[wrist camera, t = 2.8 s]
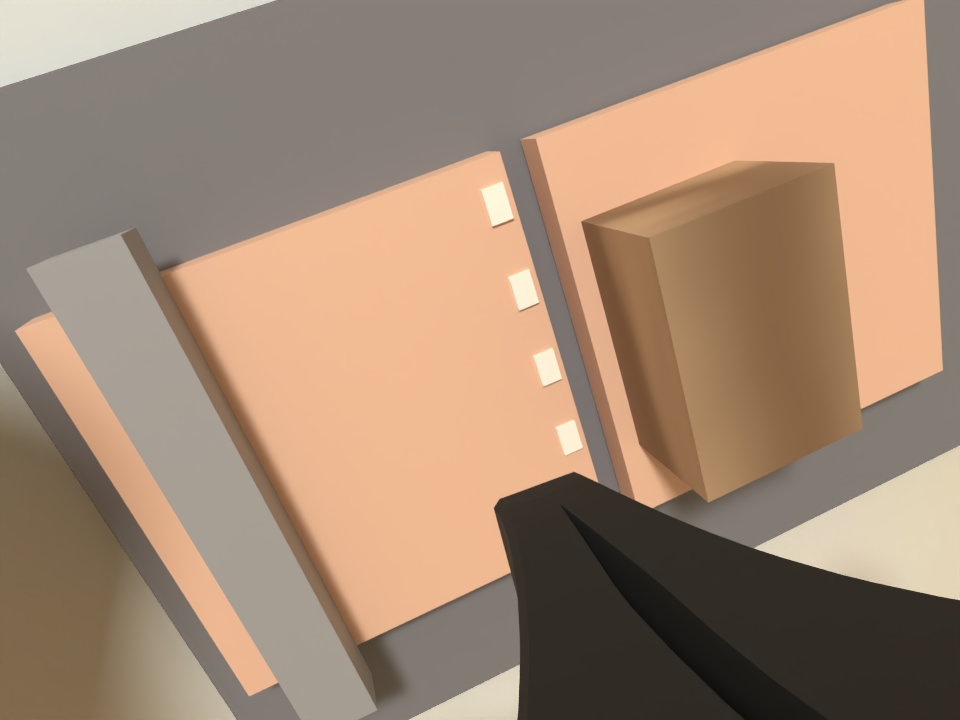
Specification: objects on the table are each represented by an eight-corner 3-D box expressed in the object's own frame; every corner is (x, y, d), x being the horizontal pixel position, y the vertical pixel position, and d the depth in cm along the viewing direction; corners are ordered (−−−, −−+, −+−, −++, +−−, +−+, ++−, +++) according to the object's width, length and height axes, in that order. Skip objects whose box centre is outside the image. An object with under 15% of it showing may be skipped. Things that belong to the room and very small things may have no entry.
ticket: (267, 693, 17) (265, 764, 15) (5, 272, 13) (-49, 295, 11) (603, 534, 19) (641, 580, 17) (472, 105, 14) (503, 98, 12)
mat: (279, 765, 19) (279, 784, 18) (-132, 136, 12) (-151, 135, 12) (1091, 364, 23) (1111, 370, 23) (1119, -261, 16) (1149, -276, 16)
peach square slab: (621, 496, 18) (704, 582, 15) (520, 139, 15) (598, 135, 11) (912, 360, 20) (1054, 407, 16) (887, 4, 16) (1064, -40, 12)
